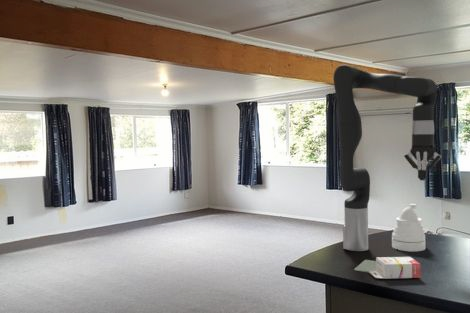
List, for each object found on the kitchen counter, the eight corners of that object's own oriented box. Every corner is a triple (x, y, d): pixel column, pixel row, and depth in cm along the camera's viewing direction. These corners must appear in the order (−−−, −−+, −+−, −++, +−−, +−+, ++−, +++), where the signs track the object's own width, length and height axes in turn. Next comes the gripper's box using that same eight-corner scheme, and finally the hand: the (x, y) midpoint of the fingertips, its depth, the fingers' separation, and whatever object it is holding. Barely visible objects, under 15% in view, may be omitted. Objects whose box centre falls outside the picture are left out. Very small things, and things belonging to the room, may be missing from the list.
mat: (354, 270, 153) (354, 269, 153) (365, 260, 164) (365, 259, 164) (402, 277, 145) (402, 275, 145) (410, 266, 156) (410, 265, 156)
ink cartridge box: (421, 262, 142) (375, 264, 142) (421, 278, 142) (375, 279, 142) (409, 255, 151) (366, 257, 150) (409, 270, 151) (367, 271, 150)
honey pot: (428, 245, 184) (427, 202, 183) (422, 252, 173) (422, 207, 173) (395, 242, 191) (395, 200, 190) (388, 249, 180) (388, 205, 179)
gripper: (401, 133, 162) (401, 180, 163) (440, 133, 155) (440, 182, 156) (406, 133, 168) (406, 178, 170) (444, 132, 161) (443, 180, 162)
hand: (422, 180), depth 163 cm, fingers closed
